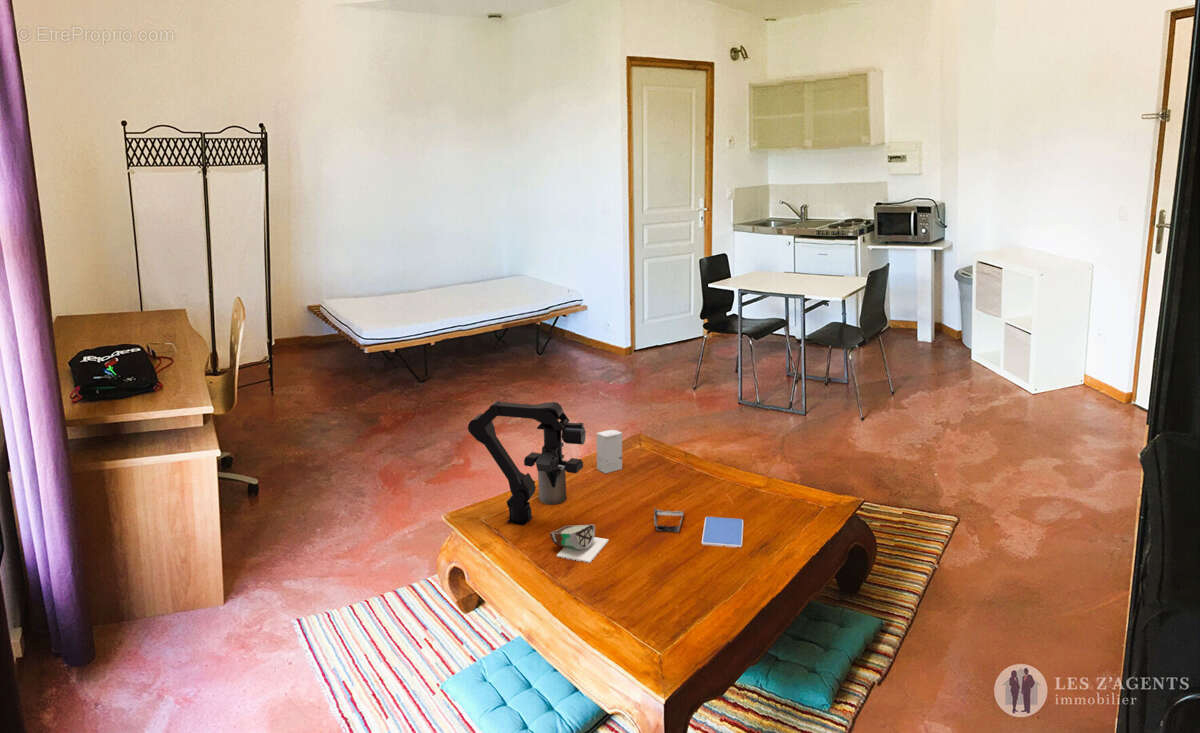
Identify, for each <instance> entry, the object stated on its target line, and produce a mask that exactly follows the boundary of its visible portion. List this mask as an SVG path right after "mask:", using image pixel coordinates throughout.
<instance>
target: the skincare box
mask: <svg viewBox="0 0 1200 733" xmlns="http://www.w3.org/2000/svg"><path fill="white" fill-rule="evenodd" d="M596 469H597V470H598V471H600V472H601V473H604V474H605V475H606V474H608V473H612V472H616V471H621V470H622V469H623V432H621V431H619V430H617V429H613V428H612V429H608V430H603V431H599V432H596Z"/></svg>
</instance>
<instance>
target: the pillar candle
mask: <svg viewBox="0 0 1200 733" xmlns="http://www.w3.org/2000/svg"><path fill="white" fill-rule="evenodd" d="M537 475H538V477H537V481H538V482H537V483H538V499H539V501H540V503H542V502H543V503H542V504H544V503H545V504H544V505H557V504H562V503H564V502H566V501H567V498H568V497H567V483H566V482H567V481H566V480H567V479H566V478H567V477H566V470H563V471H562V473H561V475H560V477H559V480H558V482H557V485H556V487H555V488H554V487H552V485H551V483H550V480H549V478H548V476H547V474H546V473H545V472H544V471H538V470H537Z"/></svg>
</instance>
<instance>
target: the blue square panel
mask: <svg viewBox="0 0 1200 733" xmlns="http://www.w3.org/2000/svg"><path fill="white" fill-rule="evenodd" d="M743 535H744V519H742V518H734V517H733V518H730V517H716V516H706V517H705V518H704V524H703V531H702V538H701V544H702V546H712V547H713V546H714V547H723V546H725V548H726V547H727V548H737V547H739V548H742V547H743V541H744V540H743V537H744V536H743Z"/></svg>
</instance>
